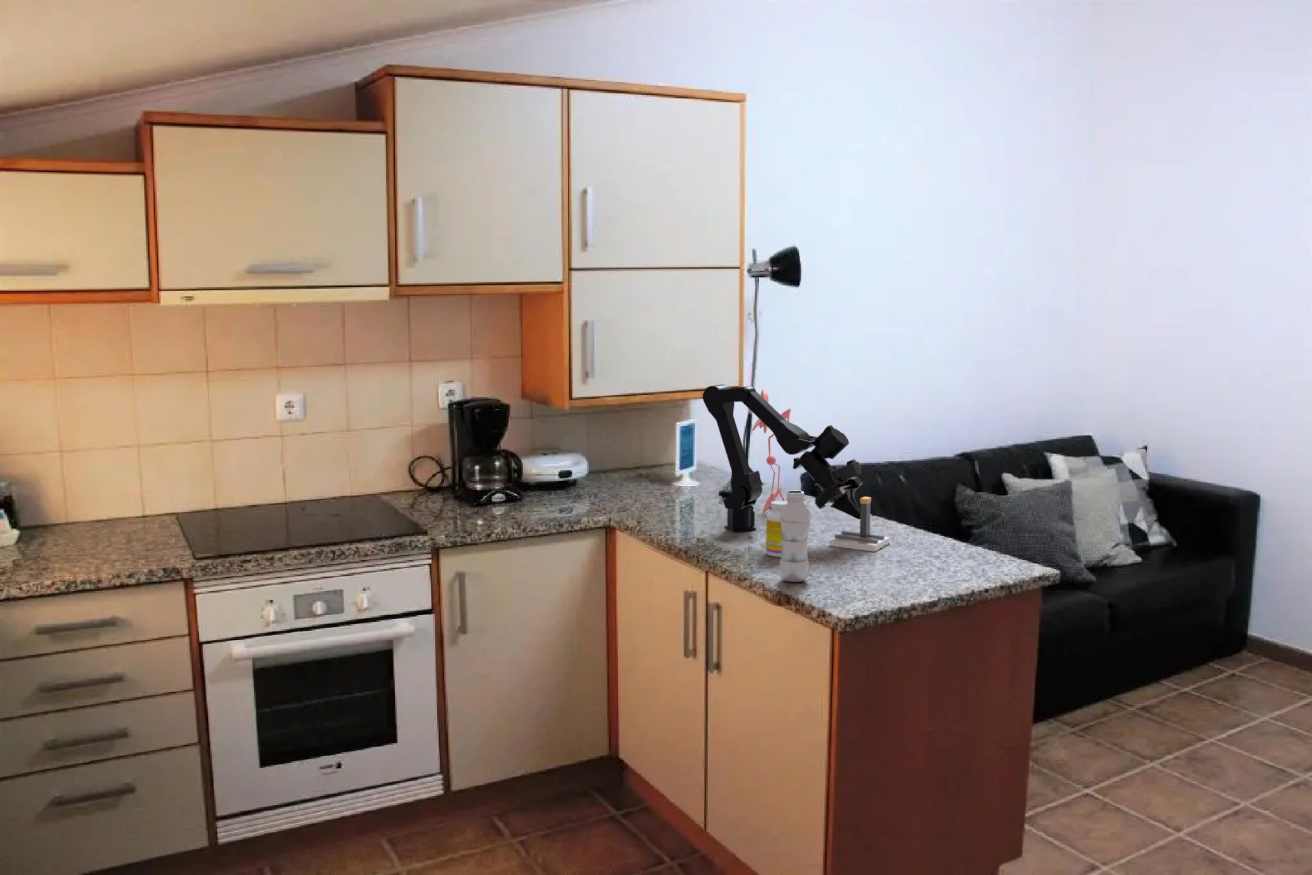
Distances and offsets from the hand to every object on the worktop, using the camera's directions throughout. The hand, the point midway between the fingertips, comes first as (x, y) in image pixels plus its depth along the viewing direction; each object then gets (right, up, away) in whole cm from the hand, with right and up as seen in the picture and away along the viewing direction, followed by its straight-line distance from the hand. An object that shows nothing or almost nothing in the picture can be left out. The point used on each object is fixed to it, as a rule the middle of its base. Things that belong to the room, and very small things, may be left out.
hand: (861, 518), depth 276 cm
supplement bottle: (-21, -8, -9) cm, 24 cm away
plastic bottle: (-21, -12, -33) cm, 40 cm away
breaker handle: (+1, -5, 0) cm, 5 cm away
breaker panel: (0, -7, +1) cm, 7 cm away
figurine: (-21, -1, +43) cm, 48 cm away
